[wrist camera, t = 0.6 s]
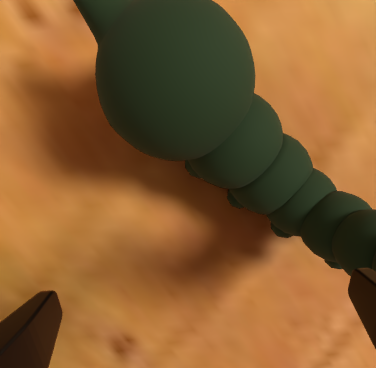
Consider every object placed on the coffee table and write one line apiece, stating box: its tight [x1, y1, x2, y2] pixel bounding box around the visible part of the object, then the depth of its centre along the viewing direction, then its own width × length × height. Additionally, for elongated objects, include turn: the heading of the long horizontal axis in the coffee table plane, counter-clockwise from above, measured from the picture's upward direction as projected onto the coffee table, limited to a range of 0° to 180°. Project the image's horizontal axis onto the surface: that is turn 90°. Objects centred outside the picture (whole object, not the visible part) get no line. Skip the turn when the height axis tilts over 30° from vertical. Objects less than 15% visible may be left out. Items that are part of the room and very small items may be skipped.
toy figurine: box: [74, 0, 376, 276], centre depth 15 cm, size 9×19×25 cm
